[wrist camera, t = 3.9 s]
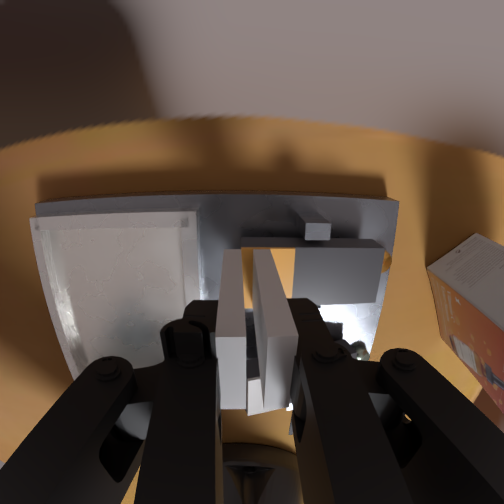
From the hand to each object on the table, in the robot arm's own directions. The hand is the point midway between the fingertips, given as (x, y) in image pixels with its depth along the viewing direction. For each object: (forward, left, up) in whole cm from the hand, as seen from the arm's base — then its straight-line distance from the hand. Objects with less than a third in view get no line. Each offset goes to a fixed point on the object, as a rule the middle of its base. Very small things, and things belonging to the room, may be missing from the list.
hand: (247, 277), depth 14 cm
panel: (-2, +4, -4) cm, 6 cm away
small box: (-12, -12, -5) cm, 18 cm away
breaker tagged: (-2, -3, -1) cm, 3 cm away
